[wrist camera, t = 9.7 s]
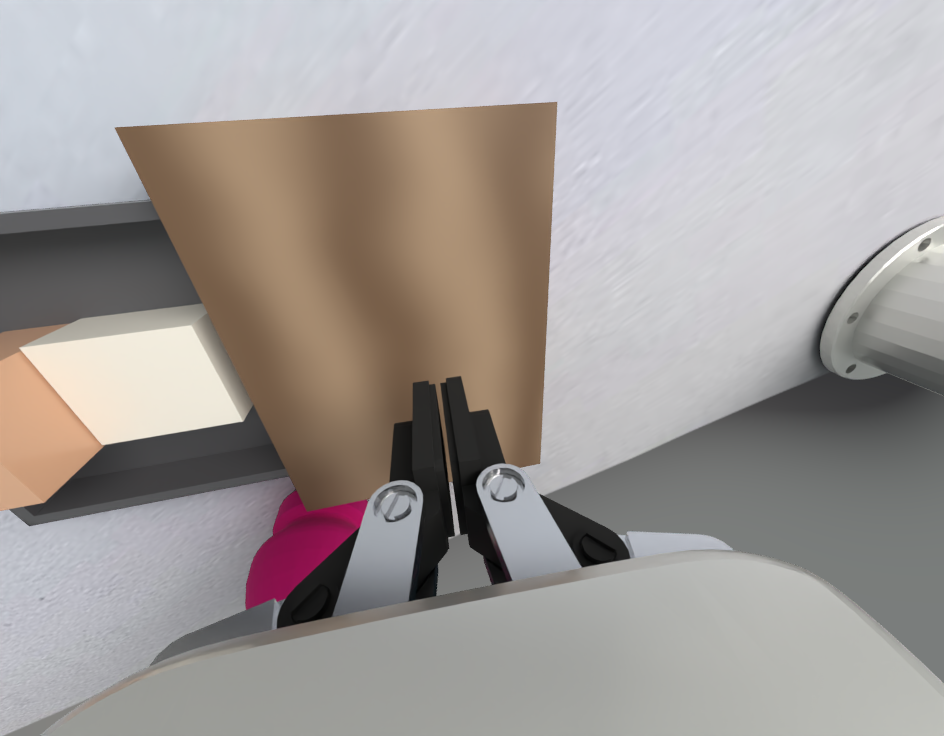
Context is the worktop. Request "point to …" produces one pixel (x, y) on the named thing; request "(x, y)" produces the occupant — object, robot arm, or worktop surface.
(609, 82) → the worktop surface
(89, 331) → the tile cream
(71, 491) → the bin
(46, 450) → the tan rectangular block
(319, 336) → the walnut block
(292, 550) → the pepper mill
